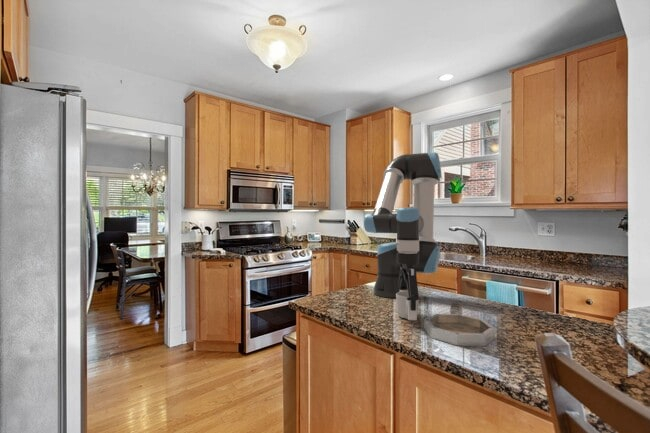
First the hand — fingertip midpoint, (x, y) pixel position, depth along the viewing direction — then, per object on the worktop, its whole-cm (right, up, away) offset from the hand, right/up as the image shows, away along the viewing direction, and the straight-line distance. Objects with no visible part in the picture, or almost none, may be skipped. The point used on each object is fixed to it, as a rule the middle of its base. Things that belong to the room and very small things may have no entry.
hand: (407, 313), depth 112 cm
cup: (0, -2, 0) cm, 2 cm away
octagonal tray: (+12, -2, -14) cm, 18 cm away
